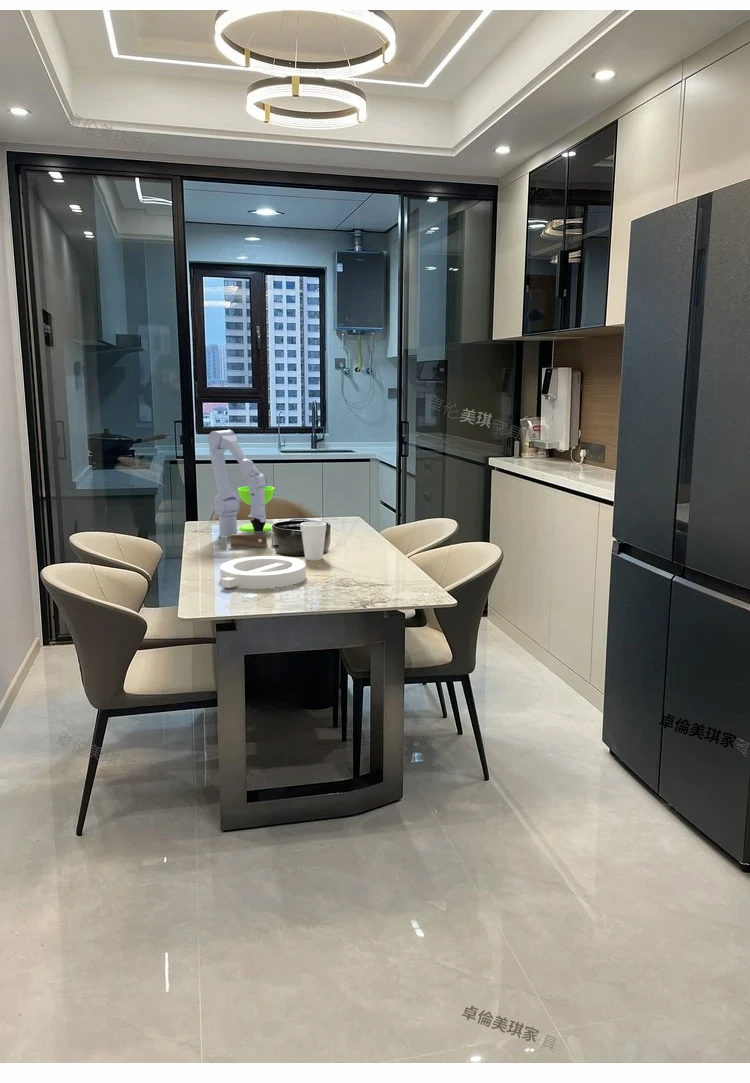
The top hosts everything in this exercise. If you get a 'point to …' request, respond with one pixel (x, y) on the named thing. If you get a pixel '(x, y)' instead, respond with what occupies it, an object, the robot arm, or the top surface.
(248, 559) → the ring with crossbar
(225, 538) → the pale green rectangular bar
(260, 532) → the grey notched block
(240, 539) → the brown rectangular bar
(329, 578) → the top surface
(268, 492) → the wineglass
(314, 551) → the foam cup
